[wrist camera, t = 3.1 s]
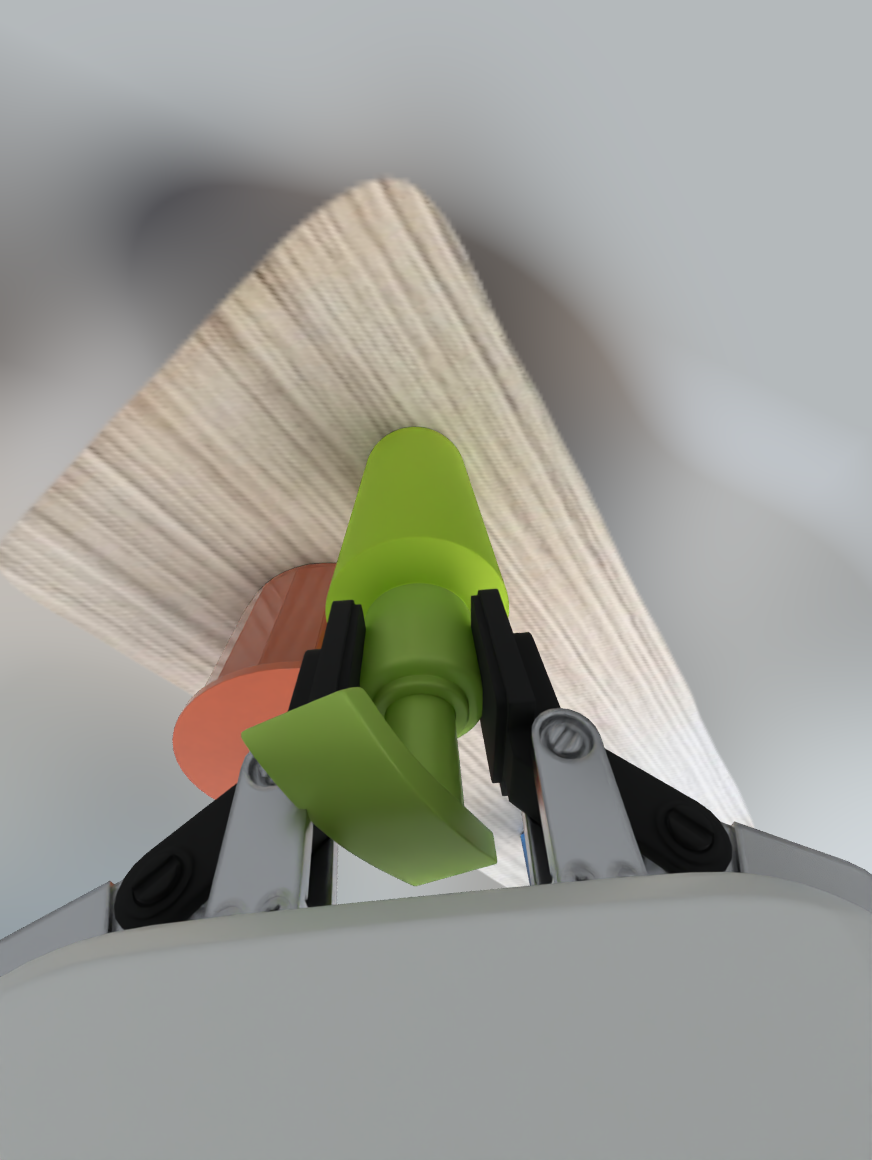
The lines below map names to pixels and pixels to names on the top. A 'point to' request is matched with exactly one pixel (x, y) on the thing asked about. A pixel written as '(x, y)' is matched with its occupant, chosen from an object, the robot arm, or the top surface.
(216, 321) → the top surface
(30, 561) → the top surface
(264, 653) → the pot
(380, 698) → the soap dispenser
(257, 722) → the pot lid
